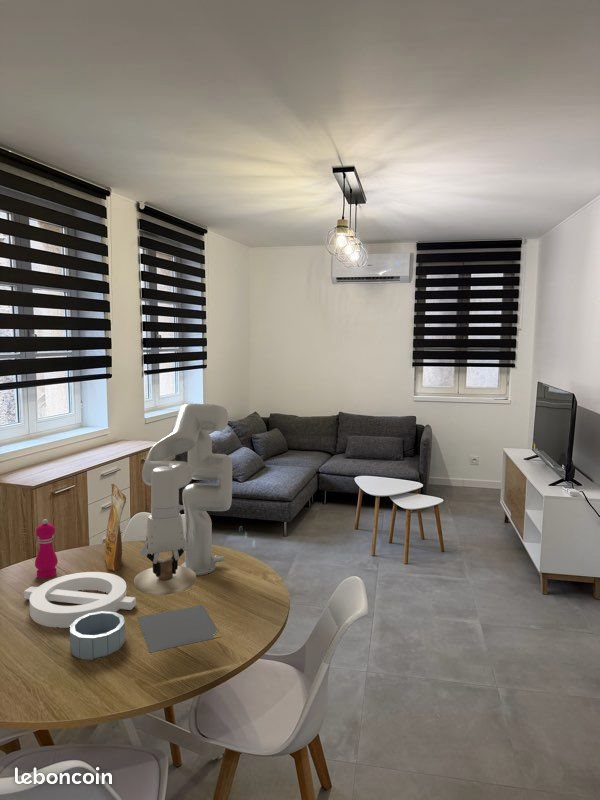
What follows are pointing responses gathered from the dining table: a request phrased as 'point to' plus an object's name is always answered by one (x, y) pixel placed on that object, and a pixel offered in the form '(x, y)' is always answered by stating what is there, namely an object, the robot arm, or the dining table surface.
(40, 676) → the dining table surface
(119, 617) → the bowl
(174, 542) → the robot arm
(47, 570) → the pepper mill
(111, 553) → the pancake mix bag
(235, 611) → the dining table surface
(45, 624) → the ring with crossbar
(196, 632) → the mat
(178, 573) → the lid
